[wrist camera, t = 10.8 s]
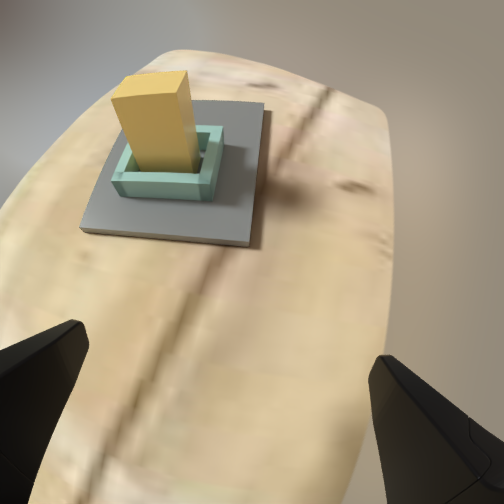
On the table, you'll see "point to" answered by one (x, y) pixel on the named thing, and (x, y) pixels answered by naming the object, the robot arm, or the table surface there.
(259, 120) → the plate
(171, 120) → the block
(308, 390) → the table surface
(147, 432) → the table surface
